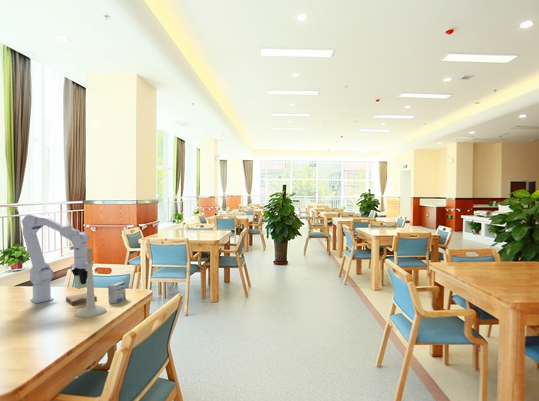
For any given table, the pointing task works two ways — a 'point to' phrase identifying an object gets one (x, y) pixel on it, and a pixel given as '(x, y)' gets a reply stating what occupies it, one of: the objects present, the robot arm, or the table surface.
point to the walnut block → (78, 299)
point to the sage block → (79, 282)
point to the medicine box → (116, 292)
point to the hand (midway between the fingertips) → (81, 283)
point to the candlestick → (90, 293)
